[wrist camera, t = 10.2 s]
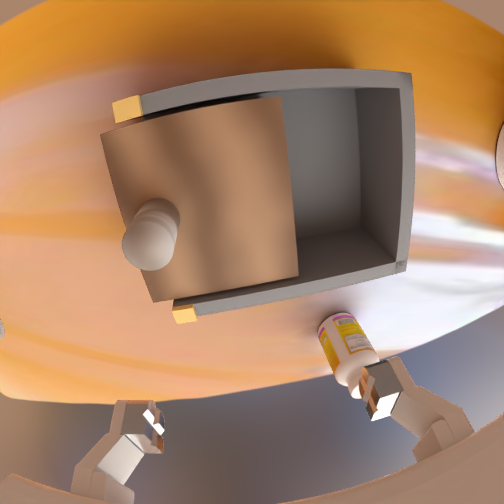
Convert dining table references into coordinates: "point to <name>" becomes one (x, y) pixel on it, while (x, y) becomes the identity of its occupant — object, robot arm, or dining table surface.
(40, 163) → the dining table surface
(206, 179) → the wooden block with knob
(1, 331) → the glass holder
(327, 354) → the supplement bottle
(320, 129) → the bay
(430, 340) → the dining table surface
